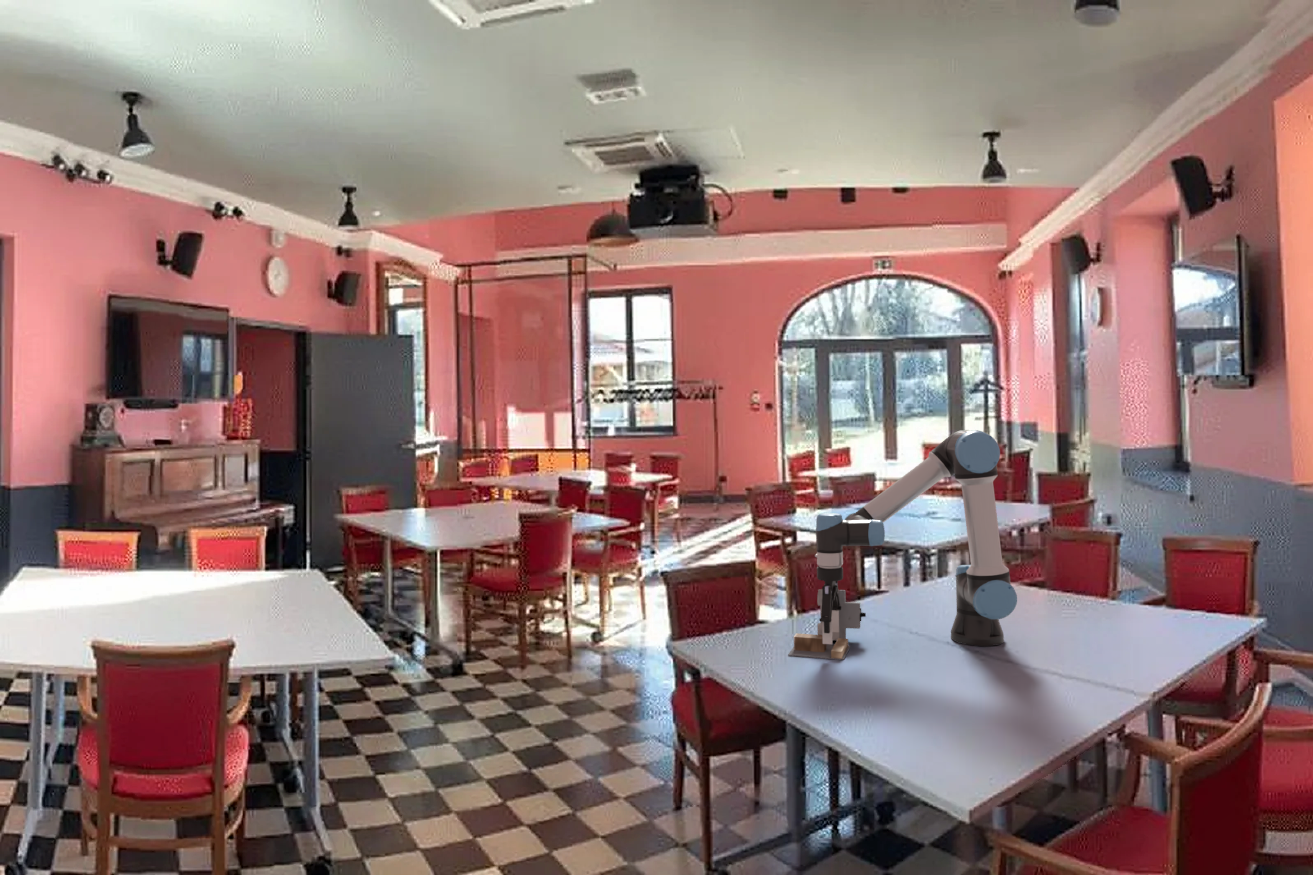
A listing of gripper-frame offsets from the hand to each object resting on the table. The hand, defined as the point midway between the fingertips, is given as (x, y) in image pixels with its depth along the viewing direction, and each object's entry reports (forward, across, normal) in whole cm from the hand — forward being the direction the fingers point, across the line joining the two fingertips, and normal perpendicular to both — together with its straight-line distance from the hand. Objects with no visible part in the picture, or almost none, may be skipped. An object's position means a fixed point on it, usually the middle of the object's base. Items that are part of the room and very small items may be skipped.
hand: (831, 637), depth 249 cm
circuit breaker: (+4, -12, +2) cm, 12 cm away
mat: (+4, 0, -4) cm, 6 cm away
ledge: (+4, 0, +2) cm, 5 cm away
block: (+2, 0, -2) cm, 3 cm away
